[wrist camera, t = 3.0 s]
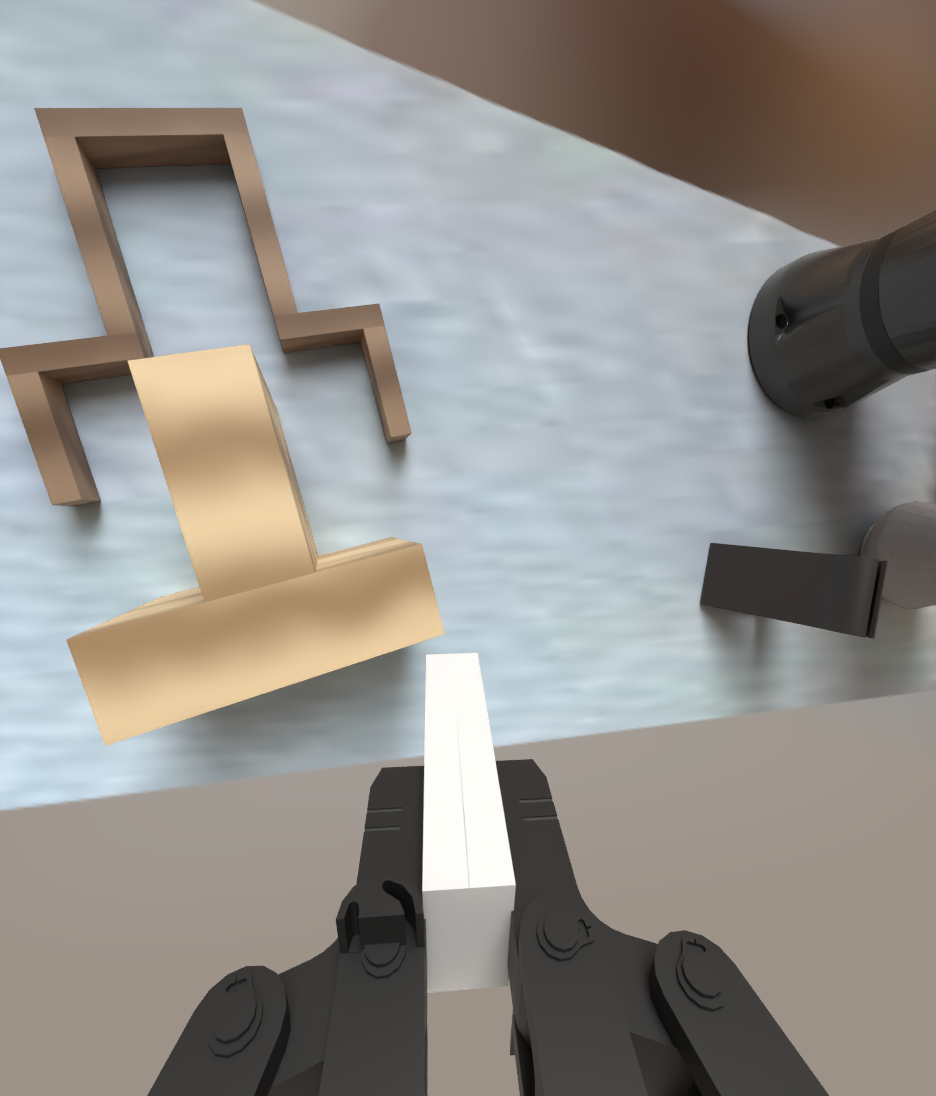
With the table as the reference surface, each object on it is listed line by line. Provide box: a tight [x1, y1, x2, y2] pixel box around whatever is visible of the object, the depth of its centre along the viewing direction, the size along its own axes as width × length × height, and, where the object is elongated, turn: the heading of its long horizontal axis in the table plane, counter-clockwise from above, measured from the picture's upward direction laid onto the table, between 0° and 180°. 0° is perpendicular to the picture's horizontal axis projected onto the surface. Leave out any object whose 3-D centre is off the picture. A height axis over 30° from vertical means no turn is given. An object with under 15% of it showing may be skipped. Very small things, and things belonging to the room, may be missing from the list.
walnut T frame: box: [0, 108, 411, 506], centre depth 30 cm, size 22×22×2 cm
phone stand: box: [700, 543, 888, 639], centre depth 40 cm, size 9×6×12 cm, turn 80°
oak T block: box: [67, 344, 445, 746], centre depth 27 cm, size 16×16×12 cm
